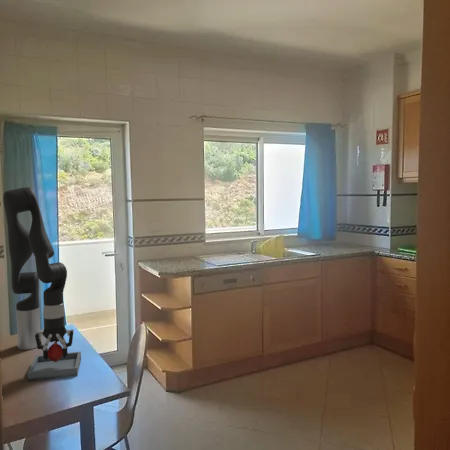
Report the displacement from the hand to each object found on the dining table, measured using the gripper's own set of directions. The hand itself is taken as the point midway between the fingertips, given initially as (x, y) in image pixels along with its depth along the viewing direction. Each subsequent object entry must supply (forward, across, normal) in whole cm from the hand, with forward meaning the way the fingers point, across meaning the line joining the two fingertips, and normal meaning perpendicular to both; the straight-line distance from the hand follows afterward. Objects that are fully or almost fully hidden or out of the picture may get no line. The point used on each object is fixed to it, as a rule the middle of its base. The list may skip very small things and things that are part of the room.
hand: (55, 357), depth 161 cm
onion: (+2, 0, 0) cm, 2 cm away
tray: (+4, 0, 0) cm, 4 cm away
